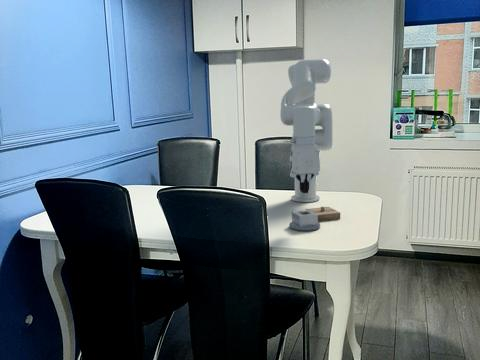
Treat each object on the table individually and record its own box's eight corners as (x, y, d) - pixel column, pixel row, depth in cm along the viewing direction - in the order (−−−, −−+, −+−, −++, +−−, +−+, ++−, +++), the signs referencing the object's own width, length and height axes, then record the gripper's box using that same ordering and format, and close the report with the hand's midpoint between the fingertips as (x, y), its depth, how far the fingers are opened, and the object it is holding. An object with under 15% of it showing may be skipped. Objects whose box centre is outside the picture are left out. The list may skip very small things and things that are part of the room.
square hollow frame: (299, 227, 171) (299, 216, 170) (292, 222, 177) (291, 211, 177) (317, 225, 173) (317, 214, 172) (309, 220, 179) (309, 209, 178)
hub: (285, 224, 179) (284, 214, 178) (312, 221, 182) (312, 211, 181) (296, 233, 168) (296, 221, 168) (325, 229, 171) (325, 218, 171)
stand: (305, 215, 191) (305, 205, 190) (328, 212, 194) (328, 203, 193) (316, 221, 182) (316, 211, 181) (340, 218, 184) (340, 208, 184)
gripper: (288, 143, 163) (288, 196, 167) (328, 141, 168) (328, 192, 171) (280, 141, 171) (281, 192, 174) (318, 139, 175) (319, 188, 178)
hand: (304, 192), depth 172 cm, fingers closed
